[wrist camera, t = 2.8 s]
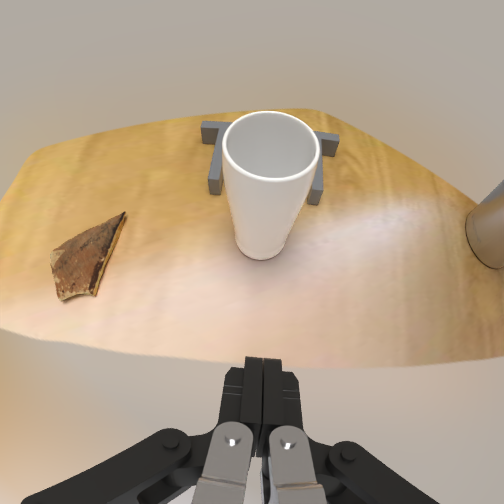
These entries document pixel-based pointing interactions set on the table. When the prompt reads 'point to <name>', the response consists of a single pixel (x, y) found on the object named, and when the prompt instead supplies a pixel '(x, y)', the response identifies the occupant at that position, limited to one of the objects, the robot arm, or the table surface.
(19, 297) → the table surface
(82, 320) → the table surface
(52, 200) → the table surface
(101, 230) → the shard
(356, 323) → the table surface
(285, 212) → the white cup
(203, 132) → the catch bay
